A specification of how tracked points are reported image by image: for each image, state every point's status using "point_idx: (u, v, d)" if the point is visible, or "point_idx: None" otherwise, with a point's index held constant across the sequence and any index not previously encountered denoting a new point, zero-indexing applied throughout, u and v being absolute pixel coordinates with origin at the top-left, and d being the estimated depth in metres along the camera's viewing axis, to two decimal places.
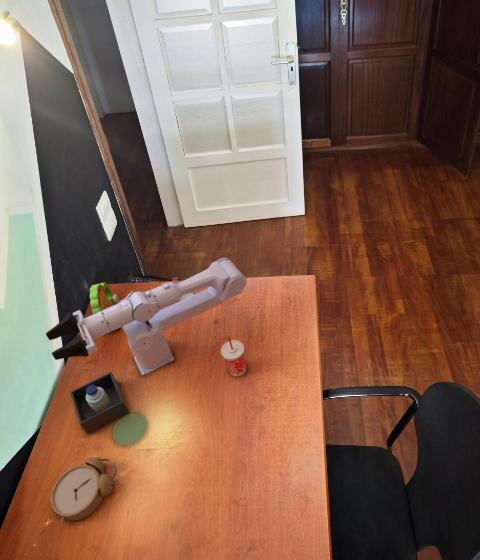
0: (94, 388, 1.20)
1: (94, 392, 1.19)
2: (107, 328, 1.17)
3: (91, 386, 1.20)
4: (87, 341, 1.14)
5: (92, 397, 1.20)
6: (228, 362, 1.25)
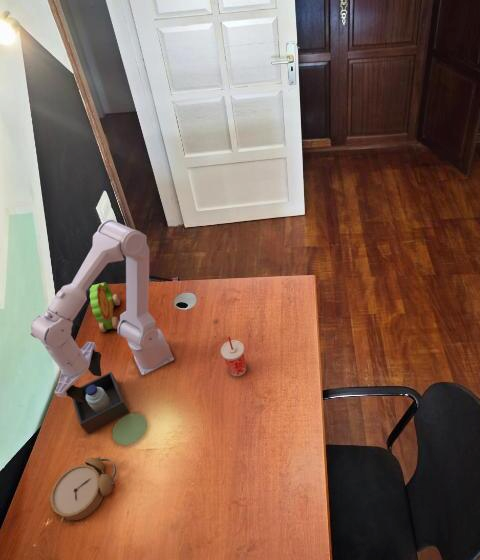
0: (94, 388, 1.20)
1: (94, 392, 1.19)
2: (60, 365, 1.08)
3: (91, 386, 1.20)
4: None
5: (92, 397, 1.20)
6: (228, 362, 1.25)
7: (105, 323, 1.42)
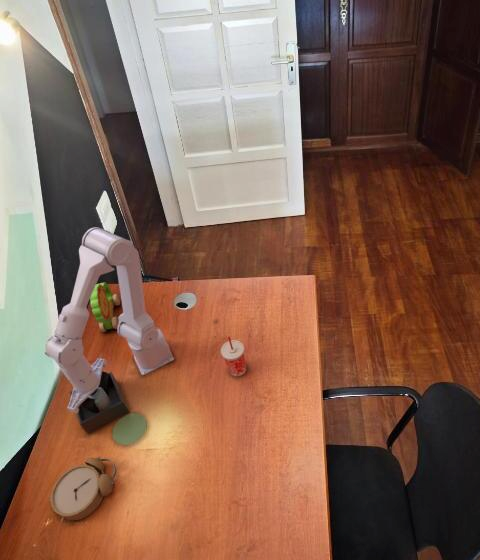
0: None
1: (94, 392, 1.19)
2: (73, 382, 1.13)
3: None
4: None
5: (92, 397, 1.20)
6: (228, 362, 1.25)
7: (105, 323, 1.42)
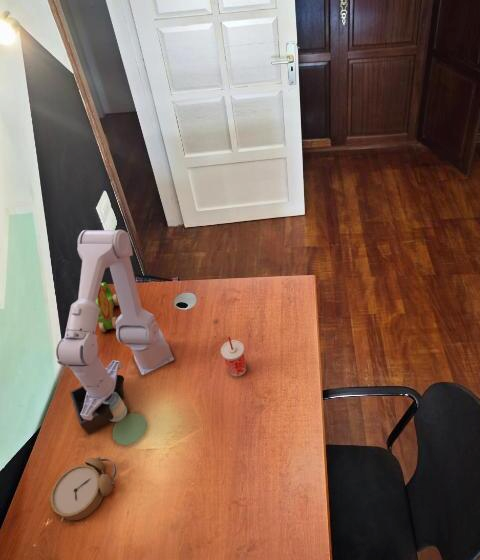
0: None
1: (108, 397, 1.10)
2: (86, 387, 1.03)
3: None
4: None
5: (106, 403, 1.11)
6: (228, 362, 1.25)
7: (105, 323, 1.42)
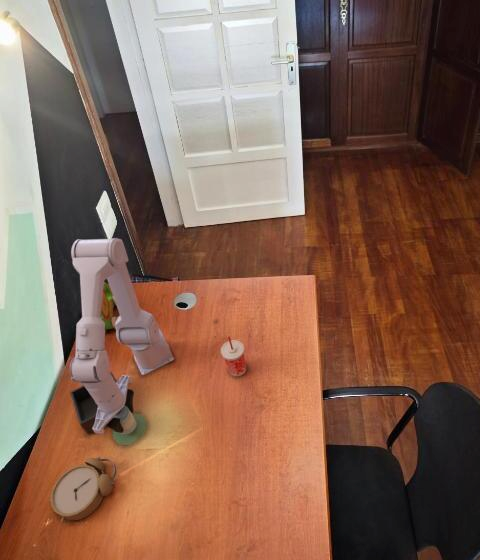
0: None
1: (119, 411, 1.13)
2: (98, 402, 1.07)
3: None
4: None
5: (117, 416, 1.14)
6: (228, 362, 1.25)
7: (105, 323, 1.42)
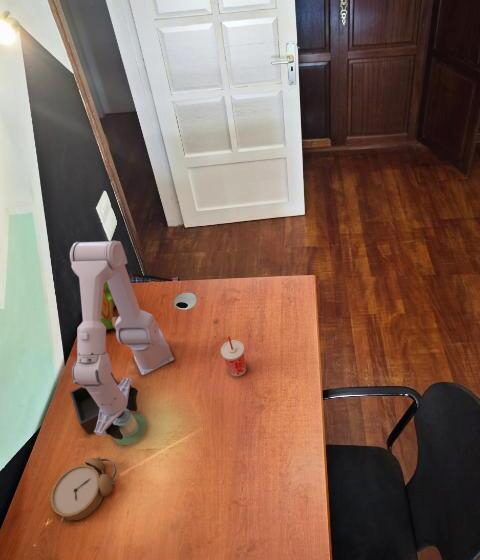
0: None
1: (121, 415, 1.14)
2: (100, 405, 1.07)
3: None
4: None
5: (119, 420, 1.15)
6: (228, 362, 1.25)
7: (105, 323, 1.42)
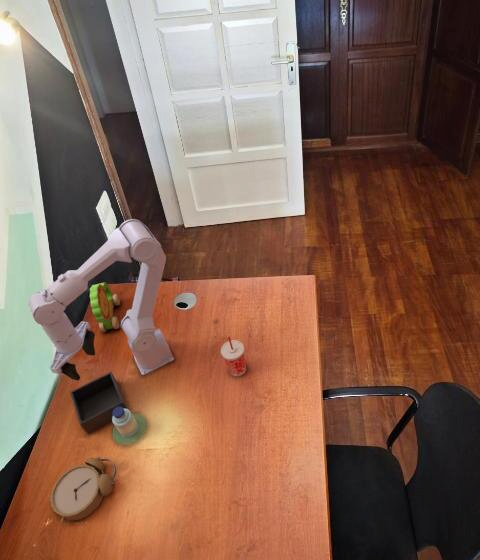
0: (121, 410, 1.15)
1: (121, 415, 1.14)
2: (55, 342, 1.12)
3: (118, 408, 1.15)
4: None
5: (119, 420, 1.15)
6: (228, 362, 1.25)
7: (105, 323, 1.42)
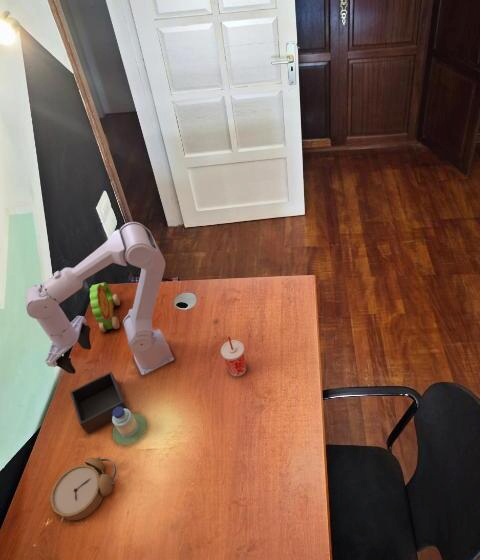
0: (121, 410, 1.15)
1: (121, 415, 1.14)
2: (50, 336, 1.14)
3: (118, 408, 1.15)
4: None
5: (119, 420, 1.15)
6: (228, 362, 1.25)
7: (105, 323, 1.42)
